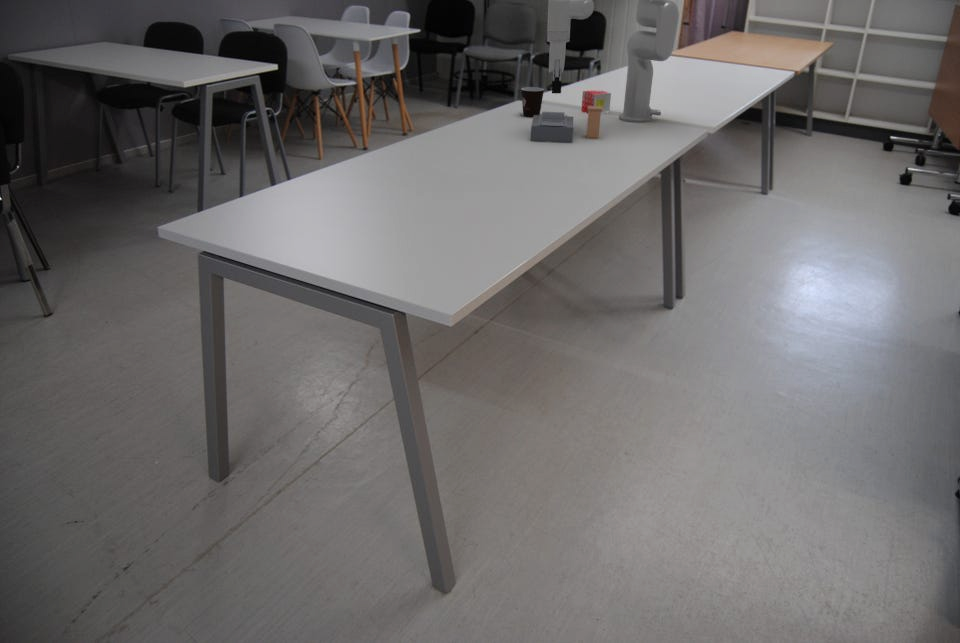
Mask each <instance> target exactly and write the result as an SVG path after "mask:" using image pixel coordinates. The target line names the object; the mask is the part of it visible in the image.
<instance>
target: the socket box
mask: <svg viewBox="0 0 960 643" xmlns="http://www.w3.org/2000/svg"><path fill="white" fill-rule="evenodd" d="M541 120H542V113H540V115H534V117H533V118H532V121H531V126H530V127H531V128H530V142H546V141H551V143H553V142H554V143H570V142H572V143H573V138H574V116H568V115H567V114H564V126H549V125H541Z"/></svg>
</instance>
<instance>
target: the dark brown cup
mask: <svg viewBox="0 0 960 643" xmlns="http://www.w3.org/2000/svg"><path fill="white" fill-rule="evenodd" d="M520 90H521V91H520V92H521V103H522V105H521V106H522V116H523V117H524V118H532V117H534V115H540V114H541V109H542V105H543V97H544V92H545V89H544V88H543V87H542V88H541V87H534V86H527V87H522V88H521V89H520Z"/></svg>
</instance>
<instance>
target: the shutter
mask: <svg viewBox="0 0 960 643" xmlns="http://www.w3.org/2000/svg"><path fill="white" fill-rule="evenodd" d="M541 114H542V120H541V125H549V126H564V116H565V115H566V114H565V112H564V111H563V112H561V111H542V112H541Z"/></svg>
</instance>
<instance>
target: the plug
mask: <svg viewBox="0 0 960 643" xmlns="http://www.w3.org/2000/svg"><path fill="white" fill-rule="evenodd" d="M601 112H602V106H588V113H587V115H588V116H587V125H586V126H587V128H586V138H587V139H599V135H600V126H601V115H602V114H601Z"/></svg>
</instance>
